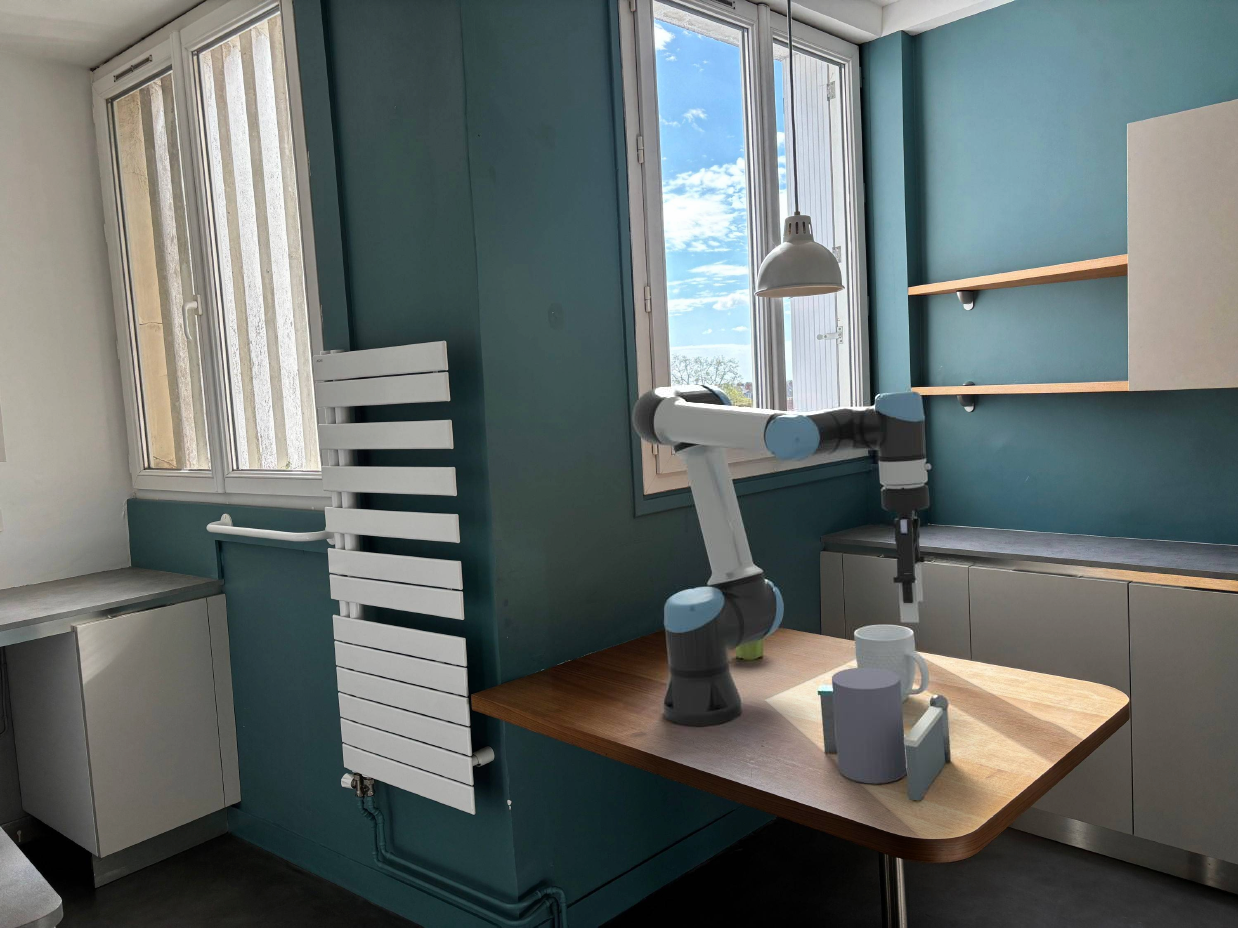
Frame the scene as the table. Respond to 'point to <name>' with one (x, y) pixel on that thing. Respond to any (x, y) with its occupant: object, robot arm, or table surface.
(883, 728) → the container
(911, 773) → the grey flat board
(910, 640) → the mug
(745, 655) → the plant pot
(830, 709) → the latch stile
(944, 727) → the hinge post
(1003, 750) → the table surface
